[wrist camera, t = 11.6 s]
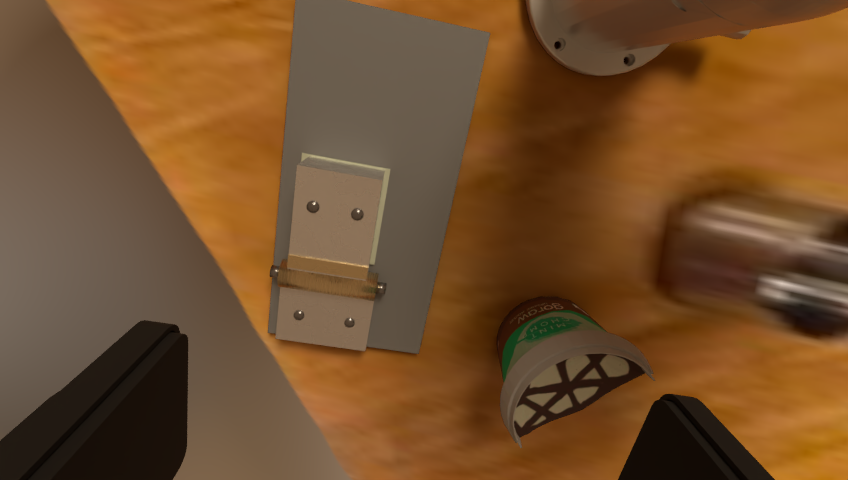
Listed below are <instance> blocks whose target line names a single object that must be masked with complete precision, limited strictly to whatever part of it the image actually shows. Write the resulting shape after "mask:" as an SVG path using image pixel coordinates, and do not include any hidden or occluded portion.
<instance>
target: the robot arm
mask: <svg viewBox="0 0 848 480" xmlns="http://www.w3.org/2000/svg"><path fill="white" fill-rule="evenodd" d="M526 7H527V12H528V16H529V20H530V24H531V26H532V28H533V31H534V33H535V35H536V38H537V39H538V41H539V42H540V44H541V45H542V47H543V48H544V49H545V51H546V52H547V53H548V54H549V55H550V56H551V57H552V58H553V59H554V60H555V61H557V62H558V63H560V64H561V65H563V66H565V67H566V68H568V69H569V70H572V71H575V72H578V73H581V74H585V75H594V76H607V75H615V74H620V73H625V72H628V71H631V70H633V69H636V68H638V67H641V66H643V65H644V64H646V63H647V62H649V61H651V60H652V59H654V58H655V57H657V56H658V55H659V54H660V53H661V52H662V51H664V50H665V49H666V48H667V47H668V46H669V45H670V44H671V43H675V42H681V41H687V40H693V39H699V38H705V37H711V36H717V35H720V36H725V37H729V38H733V39H742V38H743V37H745V36H746V35H748V33H749V32H750V31H751V30H753V29H759V28H765V27H771V26H776V25H783V24H789V23H795V22H800V21H805V20H810V19H814V18H818V17H822V16H826V15H829V14H832V13H835V12H838V11H840V10H843V9H845V8H848V0H526ZM555 42H558V43H559V47H558V49H556V48H555V47H554V44H555ZM624 58H626V63H625V64H624ZM187 395H188V337H187V335H185V334H180V331H179V328H178V326H177V325H173V324H166V323H160V322H152V321H145V320H144V321H140V322H139V323H137V324H136V325H135V326H134V327H132V328H131V329H130V330H129V331H128V332H127V333H126V334H125V335H123V336H122V337H121V338H120V339H119V340H118V341H117V342H116V343H114V344H113V345H112V346H111V347H110V348H109V349H107V350H106V351H105V352H104V353H103V354H102V355H101V356H99V357H98V358H97V359H96V360H95V361H94V362H93V363H91V364H90V365H89V366H88V367H87V368H86V369H85V370H84V371H82V372H81V373H80V374H79V375H78V376H77V377H76V378H74V379H73V380H72V381H71V382H70V383H69V384H68V385H66V386H65V387H64V388H63V389H62V390H61V391H59V392H57V393H56V394H55V395H53V396H52V397H50V398H49V399H48V400H46V401H45V402H44V403H43V404H42V405H41V406H40V407H38V408H37V409H36V410H35V411H34V412H33V413H32V414H30V415H29V416H28V417H27V418H26V419H25V420H23V421H22V422H21V423H20V424H19V425H18V426H17V427H15V428H14V429H13V430H12V431H11V432H10V433H9V434H8V435H6V436H5V437H4V438H3V439H2V440H1V441H0V480H173V478H174V476H175V475H176V473H177V471H178V469H179V468H180V466H181V464H182V462H183V459H184V456H185V453H186V447H187V398H188V397H187ZM618 480H775V479H774V478H773V477H772V476H771V475H770V474H769V473H768V472H767V471H766V470H765V469H764V468H763V467H762V466H761V464H760V463H759V462H758V461H757V460H756V459H755V458H754V457H753V456H752V455H751V454H750V453H749V452H748V451H747V450H746V449H745V447H744V446H743V445H742V444H741V443H740V442H739V441H738V440H737V439H736V438H735V437H734V436H733V435H732V434H731V433H730V432H729V431H728V429H727V428H726V427H725V426H724V425H723V424H722V423H721V422H720V421H719V420H718V419H717V418H716V417H715V416H714V415H713V414H712V412H711V411H710V410H709V409H708V408H707V407H706V406H705V405H704V404H703V403H702V402H701V401H700V400H698V399H697V398H694V397H688V396H681V395H674V394H665V395H663V396H662V397H661V398H660V399H659V400H657V401H655V402H654V403H653V405H652V407H651V409H650V411H649V413H648V415H647V418H646V420H645V422H644V424H643V426H642V428H641V431H640V433H639V435H638V437H637V439H636V442H635V444H634V446H633V448H632V450H631V452H630V455H629V457H628V459H627V461H626V463H625V465H624V468H623V470H622V472H621V474H620V476H619V479H618Z"/></svg>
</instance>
